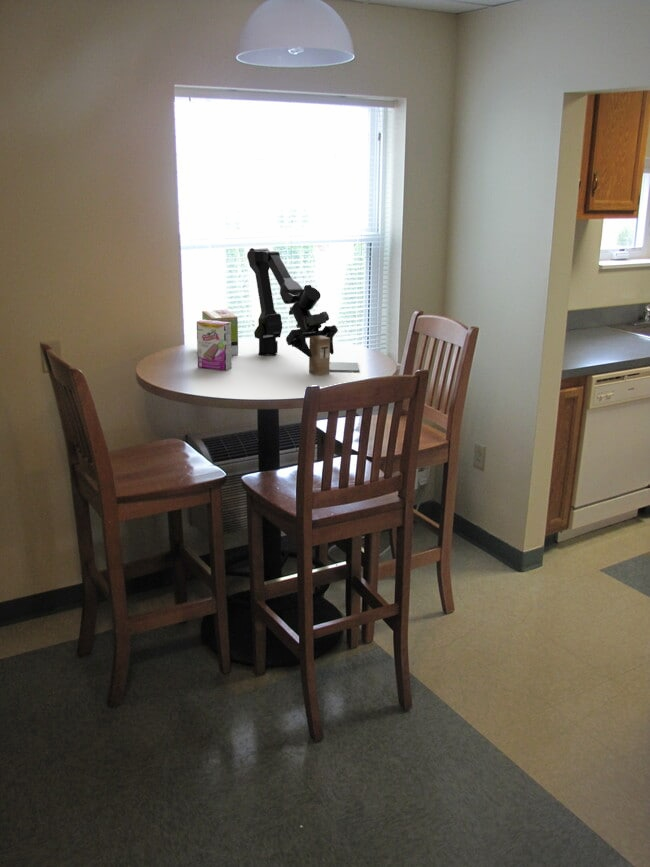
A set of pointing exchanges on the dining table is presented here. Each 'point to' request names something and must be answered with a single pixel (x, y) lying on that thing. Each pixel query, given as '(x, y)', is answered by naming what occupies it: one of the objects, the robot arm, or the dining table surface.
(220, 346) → the candy bar box
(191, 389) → the dining table surface
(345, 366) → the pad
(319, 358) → the letter block
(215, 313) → the tea box
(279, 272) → the robot arm
